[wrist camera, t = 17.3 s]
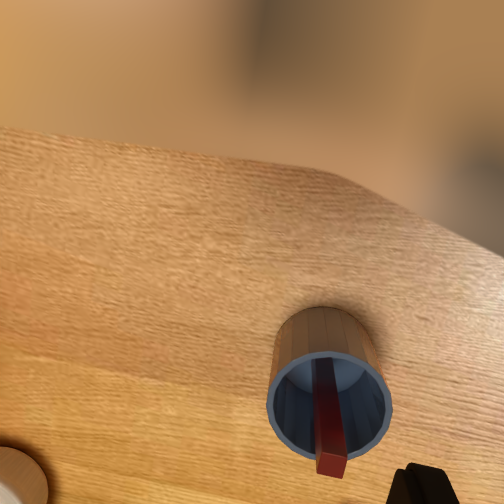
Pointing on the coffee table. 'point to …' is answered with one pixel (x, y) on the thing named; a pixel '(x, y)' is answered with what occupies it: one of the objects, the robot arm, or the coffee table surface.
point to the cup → (346, 373)
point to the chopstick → (327, 420)
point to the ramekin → (21, 479)
